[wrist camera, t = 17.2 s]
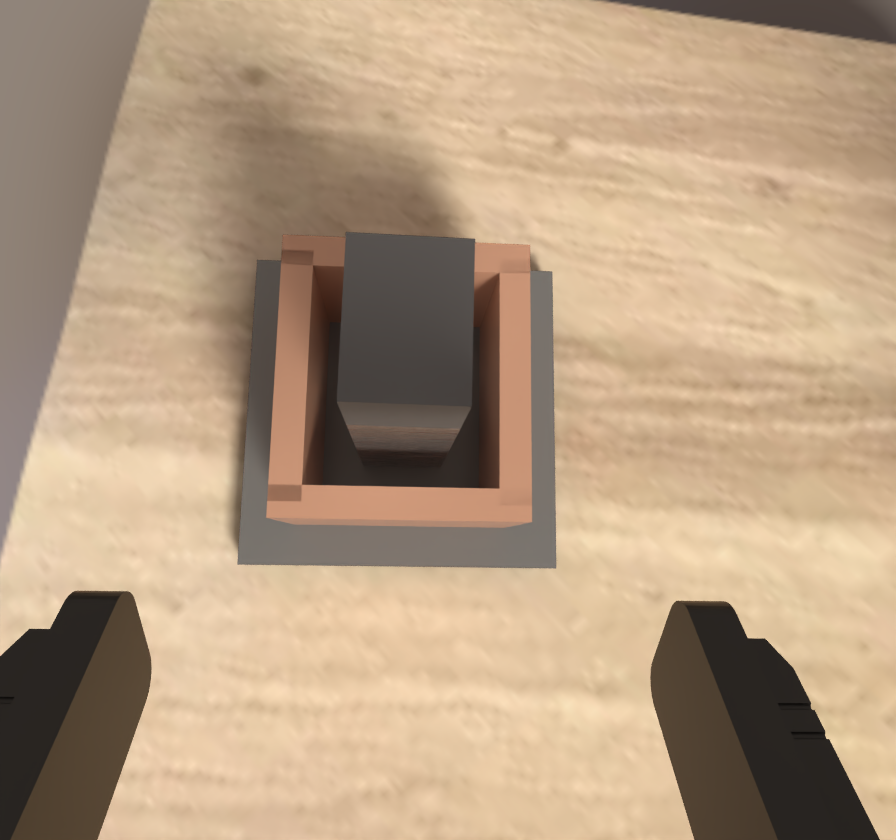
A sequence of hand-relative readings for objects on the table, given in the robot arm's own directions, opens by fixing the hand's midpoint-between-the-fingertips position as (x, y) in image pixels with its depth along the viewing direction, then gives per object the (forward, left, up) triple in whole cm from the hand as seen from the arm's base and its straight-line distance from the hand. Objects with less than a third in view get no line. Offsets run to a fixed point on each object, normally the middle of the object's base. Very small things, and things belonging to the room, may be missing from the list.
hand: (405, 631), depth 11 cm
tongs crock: (0, -7, -18) cm, 19 cm away
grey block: (0, -6, -16) cm, 18 cm away
